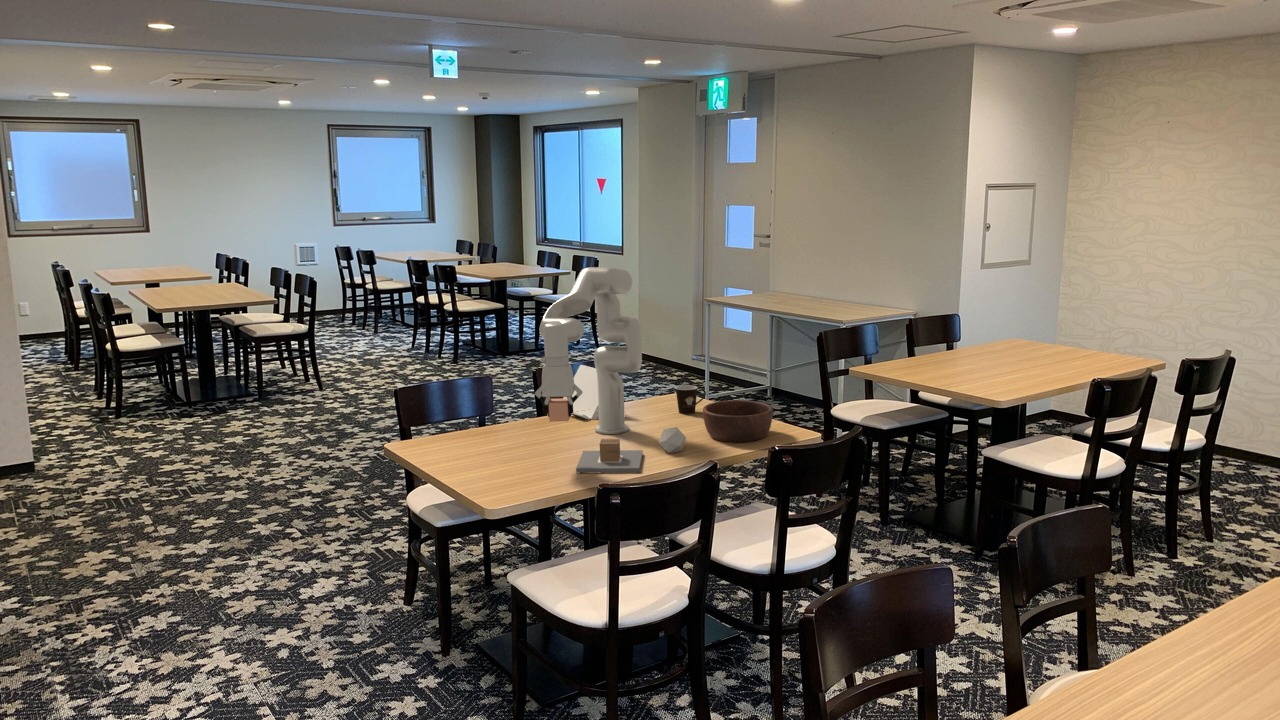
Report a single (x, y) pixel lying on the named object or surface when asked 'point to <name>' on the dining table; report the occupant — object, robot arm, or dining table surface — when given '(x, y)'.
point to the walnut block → (609, 450)
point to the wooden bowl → (737, 420)
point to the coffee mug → (687, 398)
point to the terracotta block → (558, 410)
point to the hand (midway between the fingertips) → (559, 415)
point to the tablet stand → (586, 393)
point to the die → (672, 440)
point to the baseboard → (626, 464)
